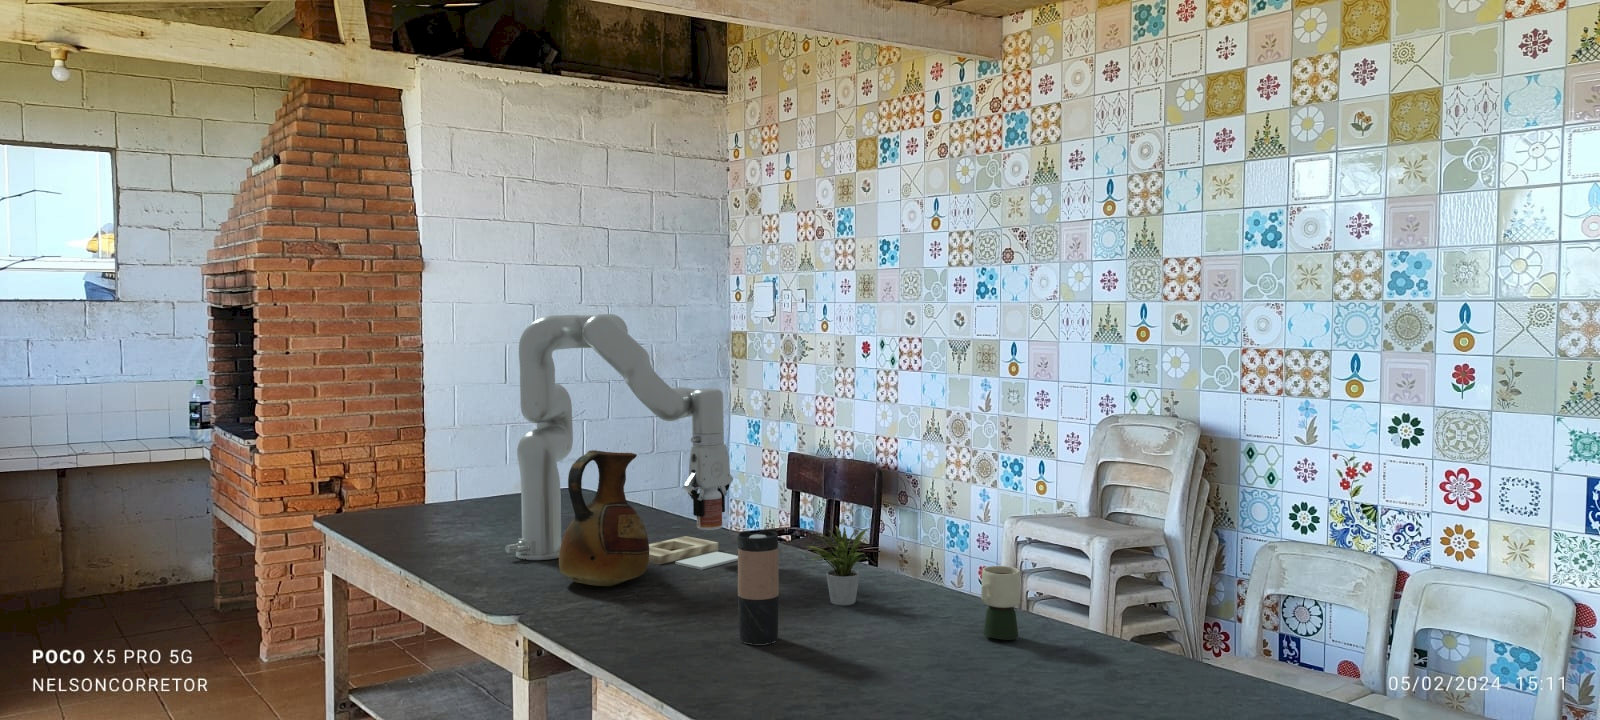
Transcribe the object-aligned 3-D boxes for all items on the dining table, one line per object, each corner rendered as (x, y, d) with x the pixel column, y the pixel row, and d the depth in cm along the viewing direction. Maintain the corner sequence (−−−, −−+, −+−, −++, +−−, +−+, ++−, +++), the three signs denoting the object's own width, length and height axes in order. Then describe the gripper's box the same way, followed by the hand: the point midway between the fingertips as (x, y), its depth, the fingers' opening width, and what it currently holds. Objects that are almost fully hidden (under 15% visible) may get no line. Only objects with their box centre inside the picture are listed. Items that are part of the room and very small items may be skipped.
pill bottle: (727, 527, 273) (726, 482, 273) (707, 531, 269) (707, 485, 268) (711, 524, 278) (710, 479, 277) (691, 528, 274) (690, 482, 273)
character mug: (1004, 628, 218) (1004, 562, 217) (1034, 636, 212) (1034, 568, 212) (967, 640, 211) (967, 571, 210) (997, 649, 205) (997, 578, 205)
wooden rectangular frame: (659, 564, 271) (658, 556, 271) (626, 557, 279) (626, 549, 279) (718, 550, 286) (718, 542, 286) (685, 543, 294) (685, 536, 294)
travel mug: (764, 648, 206) (763, 540, 205) (730, 642, 210) (729, 535, 209) (786, 638, 212) (786, 532, 211) (753, 631, 217) (752, 528, 215)
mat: (701, 569, 266) (701, 567, 266) (675, 563, 272) (675, 561, 272) (742, 559, 276) (742, 556, 276) (716, 553, 282) (716, 551, 282)
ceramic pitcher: (667, 581, 255) (665, 449, 254) (594, 598, 241) (592, 459, 239) (613, 567, 269) (611, 442, 267) (541, 583, 254) (539, 450, 252)
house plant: (844, 588, 249) (844, 514, 248) (892, 599, 239) (892, 523, 238) (798, 600, 239) (797, 523, 238) (845, 613, 229) (845, 533, 228)
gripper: (692, 445, 263) (694, 521, 264) (744, 437, 276) (745, 510, 277) (671, 442, 268) (672, 517, 269) (722, 435, 281) (723, 506, 282)
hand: (709, 513), depth 273 cm, fingers closed on pill bottle, 6 cm apart
